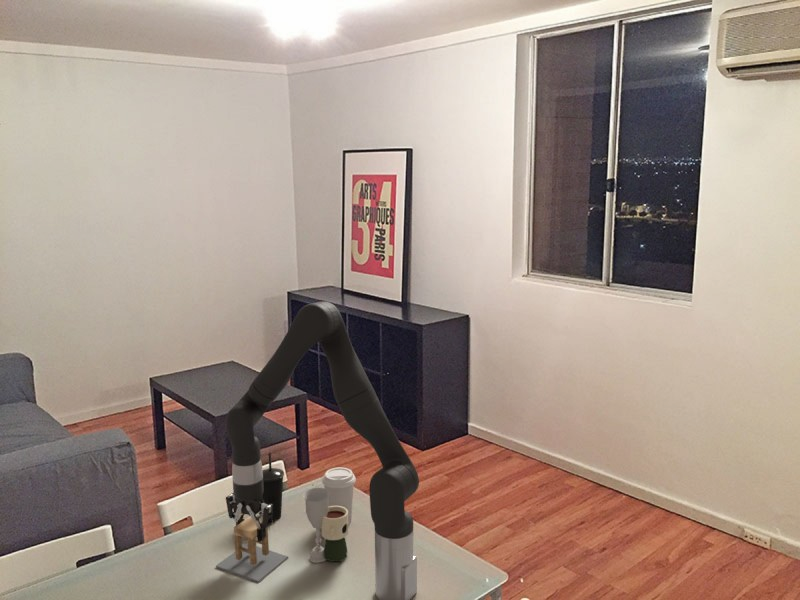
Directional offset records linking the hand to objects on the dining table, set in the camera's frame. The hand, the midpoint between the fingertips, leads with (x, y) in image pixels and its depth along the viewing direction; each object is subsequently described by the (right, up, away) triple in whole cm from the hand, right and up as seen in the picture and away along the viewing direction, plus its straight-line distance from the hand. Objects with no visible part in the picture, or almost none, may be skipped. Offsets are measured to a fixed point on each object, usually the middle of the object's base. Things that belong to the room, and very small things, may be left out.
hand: (251, 536), depth 178 cm
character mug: (+22, -7, +4) cm, 23 cm away
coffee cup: (+21, -3, +22) cm, 30 cm away
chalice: (+17, -7, +4) cm, 19 cm away
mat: (0, -7, +2) cm, 8 cm away
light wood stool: (0, -6, +1) cm, 6 cm away
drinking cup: (+1, -3, +24) cm, 25 cm away
